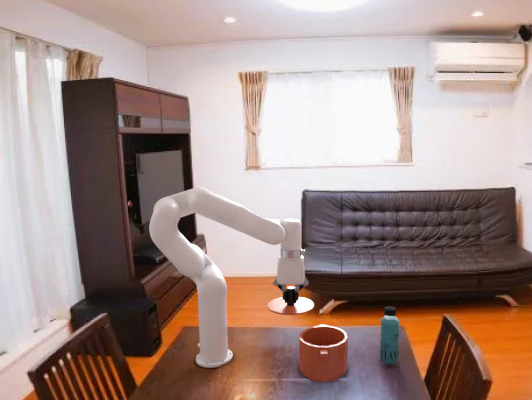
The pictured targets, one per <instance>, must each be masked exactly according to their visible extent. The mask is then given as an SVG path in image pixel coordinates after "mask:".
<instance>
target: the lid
mask: <svg viewBox="0 0 532 400" xmlns="http://www.w3.org/2000/svg"><path fill="white" fill-rule="evenodd" d="M295 289H296V286H293V285H289V286H286V290H287V303H285V300H283V296H281V297H276V298H273V299H271V300H270V301H268V302H267V306H266V307H267V309H268V310H269V312H271V313H274V314H276V315H282V316H298V315H303V314H307V313H309V312H311V311H312V310H313V309H314V308H315V303H314V302H313V300H312V299H310V298H307V297H303V296H299V300H297V303H295Z"/></svg>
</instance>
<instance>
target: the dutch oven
mask: <svg viewBox="0 0 532 400" xmlns="http://www.w3.org/2000/svg"><path fill="white" fill-rule="evenodd" d="M298 338H299V339H298V353H299V354H298V355H299V357H298V358H299V359H298V360H299V364H298V365H299V366H298V367H299V368H298V369H299V371H300V373H301V374H302V375H303V376H305V377H306V378H307V379H308V380H311V381H314V382H320V383H323V382H324V383H325V382H328V383H329V382H334V381H337V380H339V379H340V378H341V377H342V376H344V375H345V374H346V372H347V371H348V367H349V366H348V365H349V364H348V362H349V361H348V358H349V355H348V354H349V337H348V332H346V331H345V330H344V329H342V328H339V327H337V326H333V325H327V324H326V323H322V324H321V323H319V325H314V326H310V327H307V328H305V329H303V330H302V331H301V332H300V333H299V335H298Z"/></svg>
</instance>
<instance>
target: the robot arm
mask: <svg viewBox="0 0 532 400" xmlns="http://www.w3.org/2000/svg"><path fill="white" fill-rule="evenodd" d="M152 211H153V212H152V215H151V217H150V220H149V226H148V232H149V235H150V239H151V240H152V242H153V244H154V245H155V246H156V247H157V249H159V251H160V252H161V253H162V254H163V255H164V256H165V258H166V259H167V260H168V261H169V262H170V263H171V264H172V265H173V266H174V267H175V268H176V269H177V271H178V272H179V274H181V275H183V276H184V277H187V278H189V279H190V280H191V281H193V283H194V284H195V286H196V291H197V314H198V315H197V316H198V318H197V319H198V334H199V335H198V338H199V343H198V344H197V345H196V346H197V347H198V348H199V353H197V355H196V356H195V363H196V364H197V365H198V366H199V367H202V368H207V369H212V368H219V367H221V366H224V365H226V364H228V363H229V362H230V361H232V360H233V357H234V355H233V351H232V350H231V349H229V341H228V340H229V337H228V313H227V312H228V311H227V309H228V308H227V298H228V286H227V282H226V278H225V277H224V275H223V273H222V271H221V270H220V268H219V267H218V266H217V265H216V264H215V263H214V262H213V261H212V259H211V258H210V257H209V256H208V255H207V253H205V252H204V251H203V249H202V248H200V247H199V246H198V245H196V244H195V243H191V242H190V241H189V240H188V239H187V238H186V237H185V236H184V234H182V233H181V232H180V230H179V228H178V225H179V221H180V220H181V218H184V217H187V216H190V215H192V214H197V215H199V216H202V217H204V218H206V219H208V220H212V221H214V222H217V223H219V224H221V225H224V226H226V227H228V228H230V229H233V230H235V231H237V232H239V233H242V234H245V235H247V236H249V237H250V238H254V239H256V240H259V241H261V242H263V243H266V244H268V245H271V246H277V245H280V255H278V258H277V267H276V276H275V278H274V280H273V282H272V285H273V286H275V287H277V288H278V289H279V290H280V291H281V293H282V297H283V300H285V303H287V285H295V286H294V287H295V303H297V300H299V297H300V296H299V295H300V292H301V290H302V289H303V288H305V287H307V286H309V284H310V283H309V280H308V278H307V277H306V266H305V257H304V256H303V255H305V254H306V250H305V249H302V222H301V221H300V220H299V219H297V218H286V219H276V218H275V219H273V218H265V217H263V216H261V215H259V214H257V213H255V212H253V211H251V210H250V209H248V208H247V207H245V206H244V205H242V204H240V203H238V202H235V201H233V200H230V199H228V198H227V197H224V196H221V195H219V194H217V193H216V192H213V191H210V190H209V189H207V188H205V187H203V186H196V187H193V188H190V189H187V190H184V191H180V192H177V193H175V194H174V193H173V194H171V195H167V196H165V197H161V198H160V199H158V200H157V201H156V202H155V204H154V206H153V210H152Z"/></svg>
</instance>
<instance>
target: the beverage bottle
mask: <svg viewBox="0 0 532 400" xmlns="http://www.w3.org/2000/svg"><path fill="white" fill-rule="evenodd" d="M383 314H384V316H383V317H381V319H380V340H379V343H380V344H379V359H380V361H381V362H382V363H384V364H387V365H394V364H396V363H398V361H399V358H400V357H399V355H400V352H399V348H400V347H399V346H400V344H399V343H400V341H399V340H400V319H399V318H398V317H397V308H396V307H395V306H391V305H389V306H388V305H387V306H385V307H384V310H383Z"/></svg>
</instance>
